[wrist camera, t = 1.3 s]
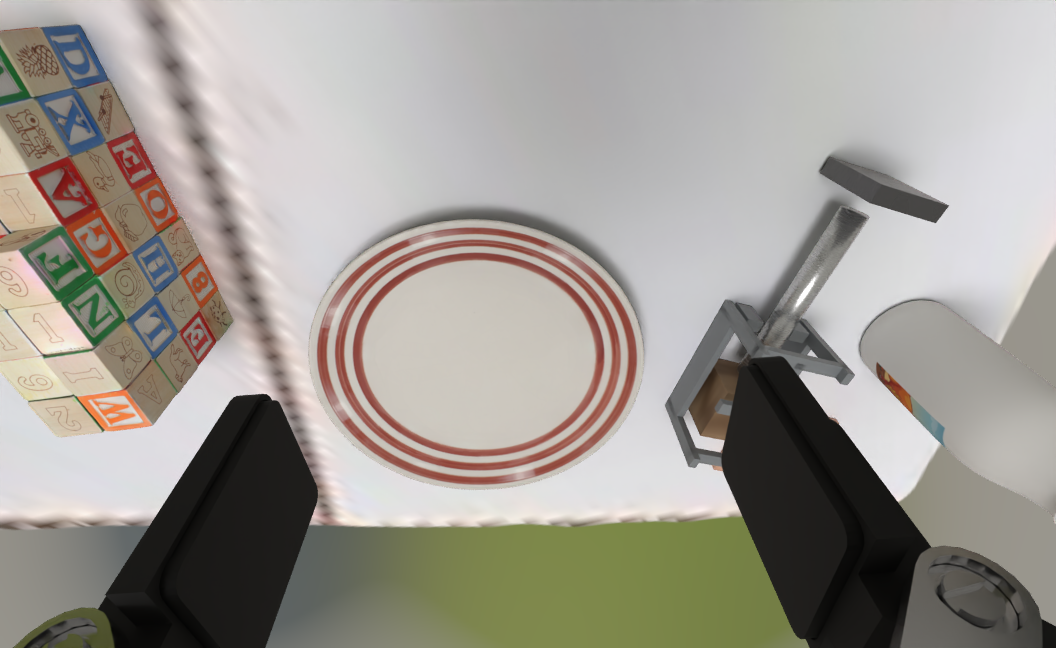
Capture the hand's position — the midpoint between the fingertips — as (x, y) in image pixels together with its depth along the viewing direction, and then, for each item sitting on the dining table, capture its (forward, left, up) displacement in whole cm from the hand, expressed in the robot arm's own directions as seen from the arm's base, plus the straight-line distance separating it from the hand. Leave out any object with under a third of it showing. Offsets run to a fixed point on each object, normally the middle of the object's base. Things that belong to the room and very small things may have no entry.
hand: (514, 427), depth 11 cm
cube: (+17, +25, -29) cm, 41 cm away
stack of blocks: (+12, -24, -29) cm, 40 cm away
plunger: (+5, +25, -28) cm, 38 cm away
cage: (+15, +25, -28) cm, 40 cm away
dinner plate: (+20, +3, -29) cm, 35 cm away
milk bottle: (+8, +38, -29) cm, 48 cm away
